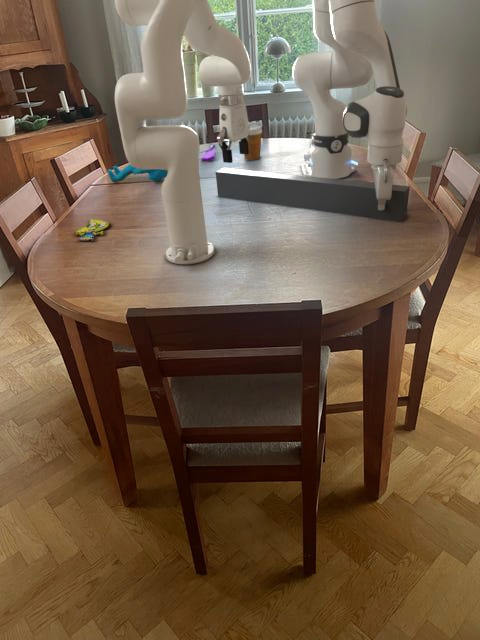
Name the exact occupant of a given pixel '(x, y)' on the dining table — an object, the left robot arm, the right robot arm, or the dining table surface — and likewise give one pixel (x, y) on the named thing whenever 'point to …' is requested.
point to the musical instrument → (209, 154)
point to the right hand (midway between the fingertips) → (380, 204)
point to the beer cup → (254, 142)
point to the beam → (311, 193)
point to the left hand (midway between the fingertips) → (236, 158)
